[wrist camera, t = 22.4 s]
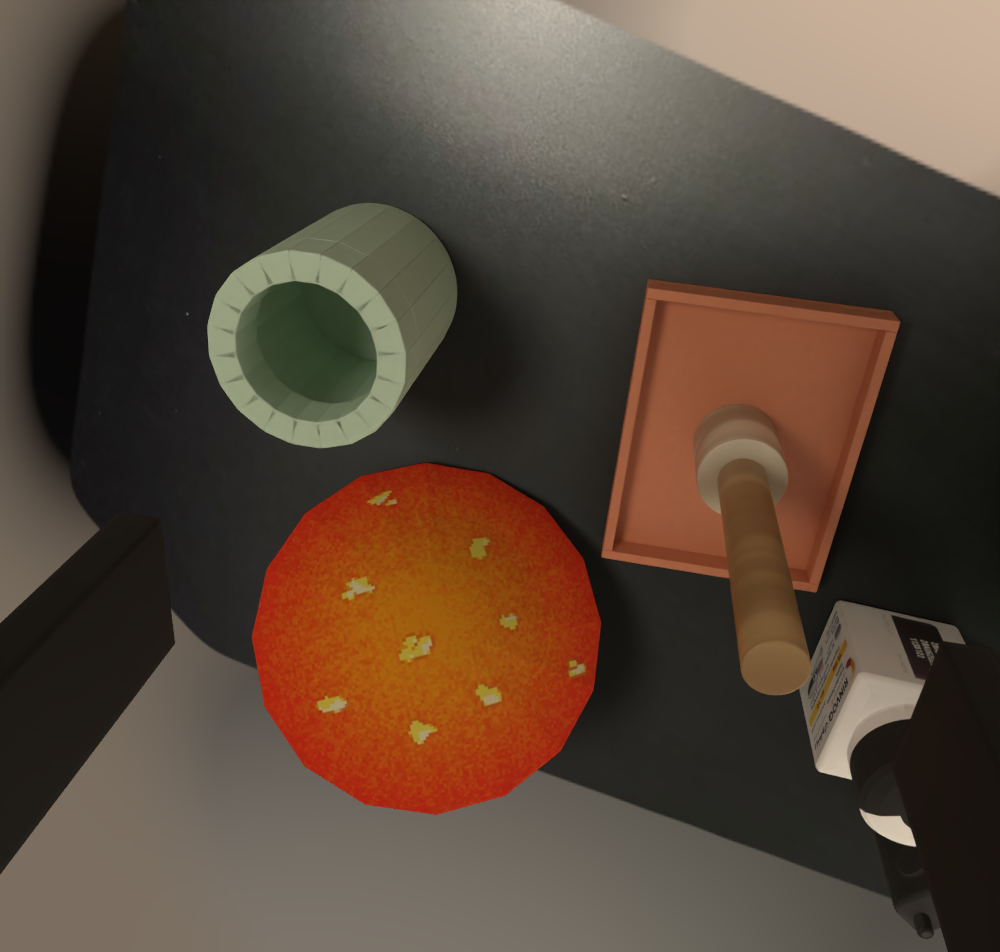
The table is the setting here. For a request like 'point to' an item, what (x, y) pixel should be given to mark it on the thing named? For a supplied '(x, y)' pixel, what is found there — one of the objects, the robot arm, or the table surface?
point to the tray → (750, 381)
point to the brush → (753, 543)
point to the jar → (333, 324)
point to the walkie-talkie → (908, 885)
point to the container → (869, 702)
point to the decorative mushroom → (426, 638)
